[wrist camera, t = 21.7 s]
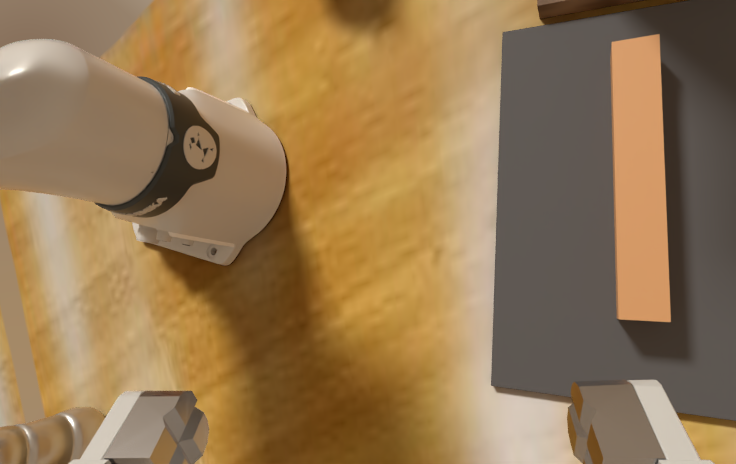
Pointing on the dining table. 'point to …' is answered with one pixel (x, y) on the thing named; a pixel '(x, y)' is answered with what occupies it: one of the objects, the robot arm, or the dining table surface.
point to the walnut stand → (574, 6)
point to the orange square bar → (639, 181)
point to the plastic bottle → (50, 438)
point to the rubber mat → (596, 209)
